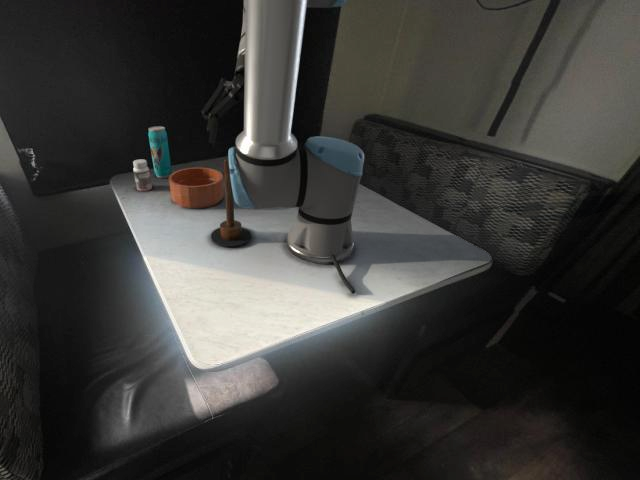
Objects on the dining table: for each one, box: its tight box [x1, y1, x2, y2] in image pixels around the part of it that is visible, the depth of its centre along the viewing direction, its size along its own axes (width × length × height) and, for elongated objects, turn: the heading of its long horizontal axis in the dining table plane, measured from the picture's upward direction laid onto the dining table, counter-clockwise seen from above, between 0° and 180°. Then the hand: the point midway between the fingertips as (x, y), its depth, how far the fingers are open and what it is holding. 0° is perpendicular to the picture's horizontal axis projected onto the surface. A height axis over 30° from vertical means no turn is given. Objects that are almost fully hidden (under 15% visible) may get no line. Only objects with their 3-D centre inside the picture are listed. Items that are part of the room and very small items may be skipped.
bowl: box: [168, 167, 225, 209], centre depth 98 cm, size 16×16×6 cm
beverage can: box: [148, 125, 172, 179], centre depth 110 cm, size 6×6×15 cm
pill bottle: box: [132, 158, 153, 191], centre depth 104 cm, size 5×5×8 cm
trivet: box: [210, 226, 252, 249], centre depth 82 cm, size 10×10×1 cm
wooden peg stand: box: [219, 157, 243, 240], centre depth 76 cm, size 5×5×18 cm
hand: (239, 148), depth 78 cm, fingers open, 13 cm apart
